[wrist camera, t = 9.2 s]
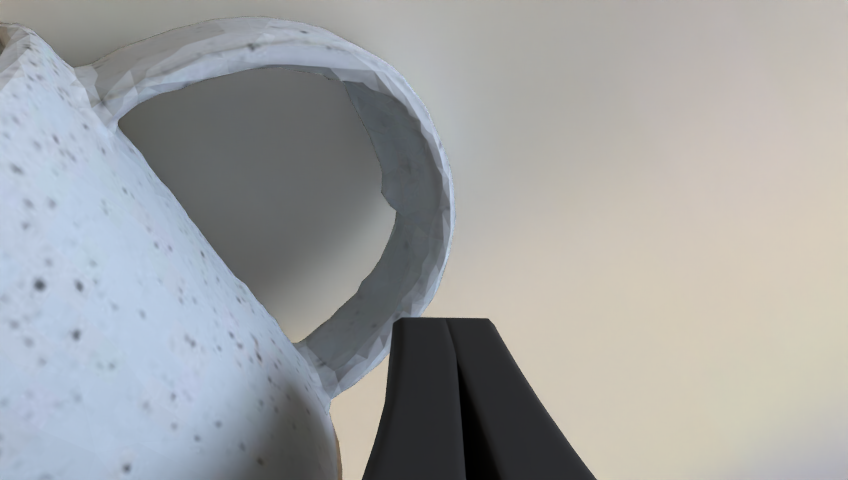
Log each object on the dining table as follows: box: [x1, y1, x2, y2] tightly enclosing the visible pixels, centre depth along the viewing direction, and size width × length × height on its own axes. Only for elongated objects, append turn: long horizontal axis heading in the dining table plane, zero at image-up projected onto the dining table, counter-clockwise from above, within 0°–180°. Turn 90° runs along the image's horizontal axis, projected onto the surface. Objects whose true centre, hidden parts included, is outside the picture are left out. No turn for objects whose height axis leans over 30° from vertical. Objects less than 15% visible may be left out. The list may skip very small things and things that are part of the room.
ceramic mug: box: [0, 17, 456, 480], centre depth 10 cm, size 11×8×8 cm
